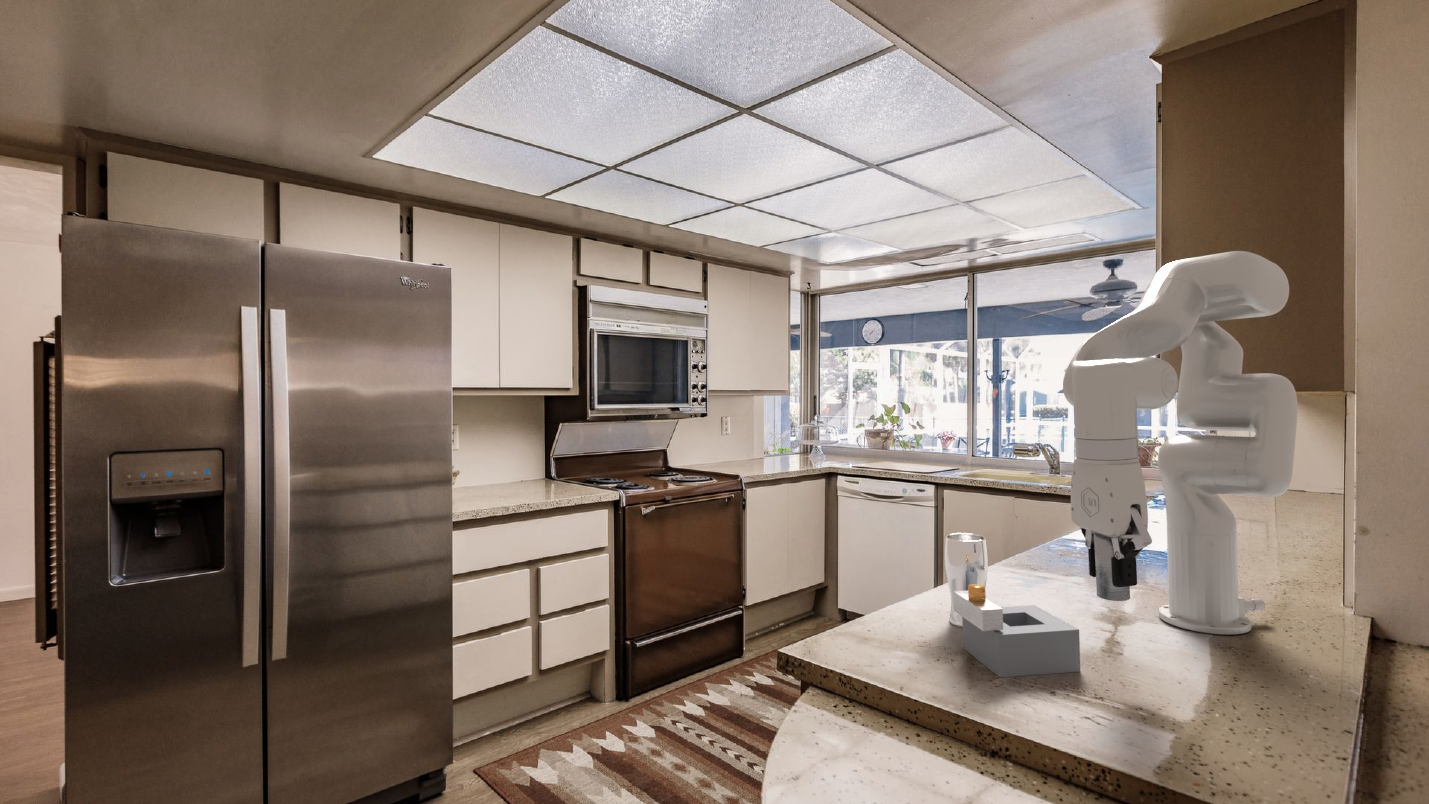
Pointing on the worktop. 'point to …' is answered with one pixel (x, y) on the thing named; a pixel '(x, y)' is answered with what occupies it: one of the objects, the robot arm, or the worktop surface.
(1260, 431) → the robot arm
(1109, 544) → the grey capped cylinder
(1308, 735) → the worktop surface
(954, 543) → the beer glass
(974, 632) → the block
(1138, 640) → the worktop surface
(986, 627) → the bar
